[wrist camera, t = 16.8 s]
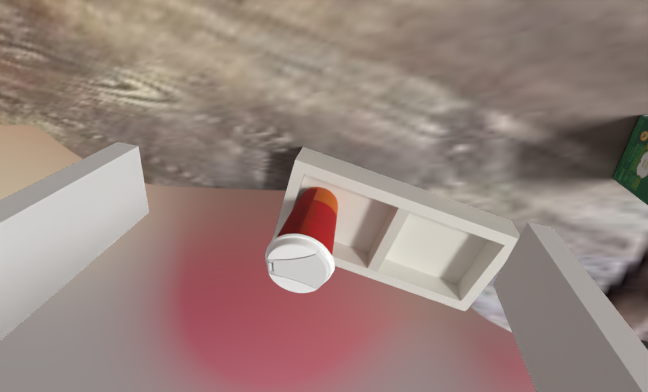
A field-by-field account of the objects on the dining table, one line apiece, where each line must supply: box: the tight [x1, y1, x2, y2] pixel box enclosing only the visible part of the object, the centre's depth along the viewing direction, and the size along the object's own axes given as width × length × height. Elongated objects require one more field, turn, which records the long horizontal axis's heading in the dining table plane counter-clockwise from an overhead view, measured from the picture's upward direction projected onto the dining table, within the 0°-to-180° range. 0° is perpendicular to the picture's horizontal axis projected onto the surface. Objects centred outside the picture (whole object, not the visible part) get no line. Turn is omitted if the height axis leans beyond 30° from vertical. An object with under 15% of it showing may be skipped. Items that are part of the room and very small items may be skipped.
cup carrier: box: [272, 147, 520, 311], centre depth 46 cm, size 30×14×4 cm, turn 73°
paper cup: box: [265, 187, 338, 293], centre depth 41 cm, size 8×8×14 cm
